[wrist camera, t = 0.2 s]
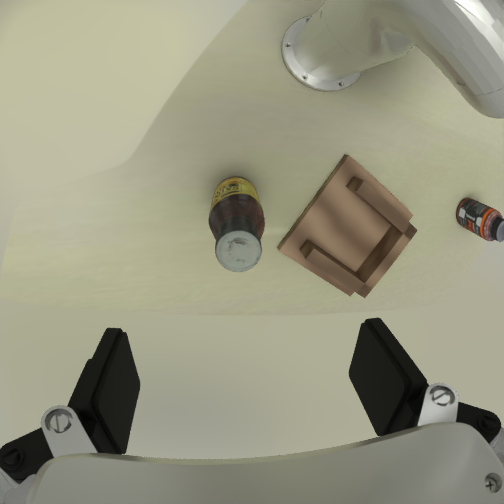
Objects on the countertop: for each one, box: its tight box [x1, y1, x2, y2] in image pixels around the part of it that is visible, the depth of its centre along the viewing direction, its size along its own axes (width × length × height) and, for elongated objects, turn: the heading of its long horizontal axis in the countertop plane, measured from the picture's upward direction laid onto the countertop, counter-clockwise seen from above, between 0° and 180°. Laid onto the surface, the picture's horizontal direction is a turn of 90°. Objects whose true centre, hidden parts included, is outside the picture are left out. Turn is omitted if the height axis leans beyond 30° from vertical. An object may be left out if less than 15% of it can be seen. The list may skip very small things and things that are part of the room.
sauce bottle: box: [209, 177, 265, 272], centre depth 35 cm, size 6×6×20 cm
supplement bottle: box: [457, 198, 504, 242], centre depth 43 cm, size 6×6×11 cm
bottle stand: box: [277, 155, 417, 298], centre depth 45 cm, size 18×16×6 cm
